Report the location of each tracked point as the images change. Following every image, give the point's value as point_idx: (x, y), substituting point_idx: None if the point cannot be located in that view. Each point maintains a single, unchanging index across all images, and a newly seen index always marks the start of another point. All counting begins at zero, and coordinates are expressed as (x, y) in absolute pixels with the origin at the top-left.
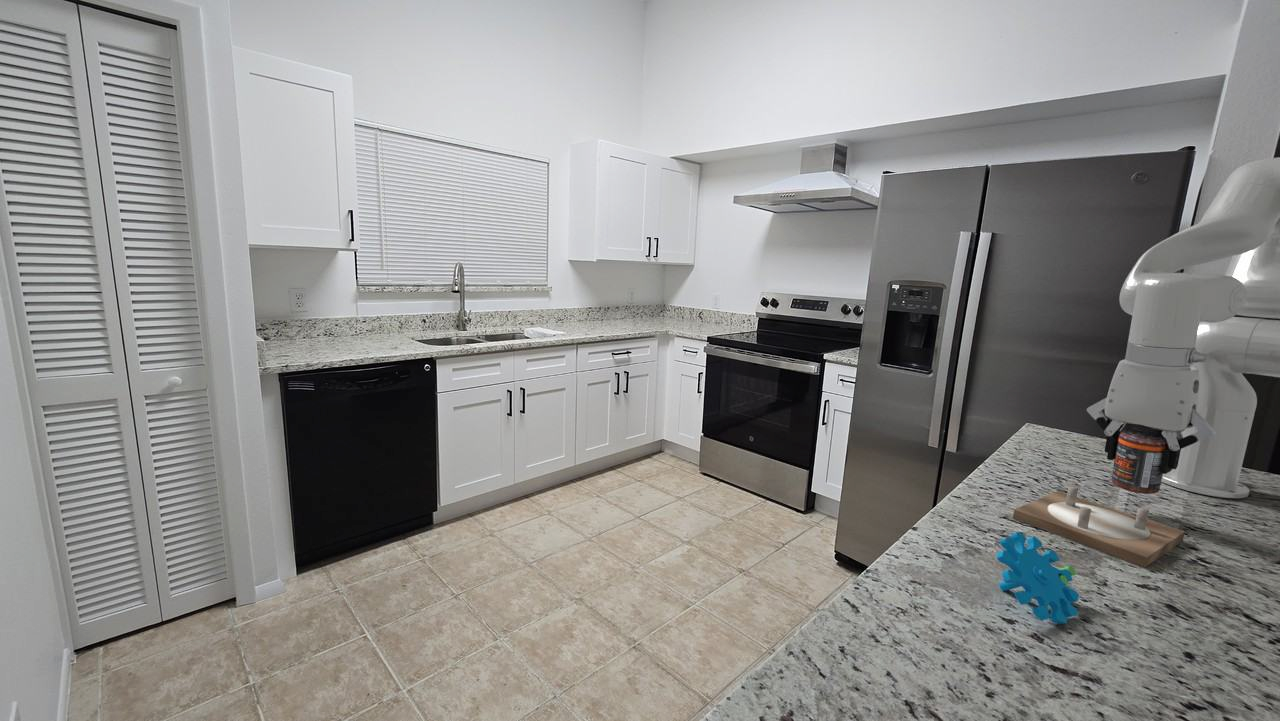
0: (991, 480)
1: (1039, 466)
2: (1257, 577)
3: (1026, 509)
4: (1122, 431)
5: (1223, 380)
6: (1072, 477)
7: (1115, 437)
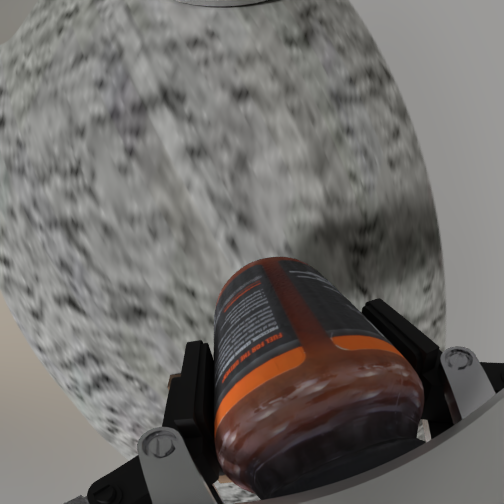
0: (77, 390)
1: (18, 198)
2: (438, 341)
3: (224, 475)
4: (232, 481)
5: None
6: (74, 186)
7: (220, 467)
